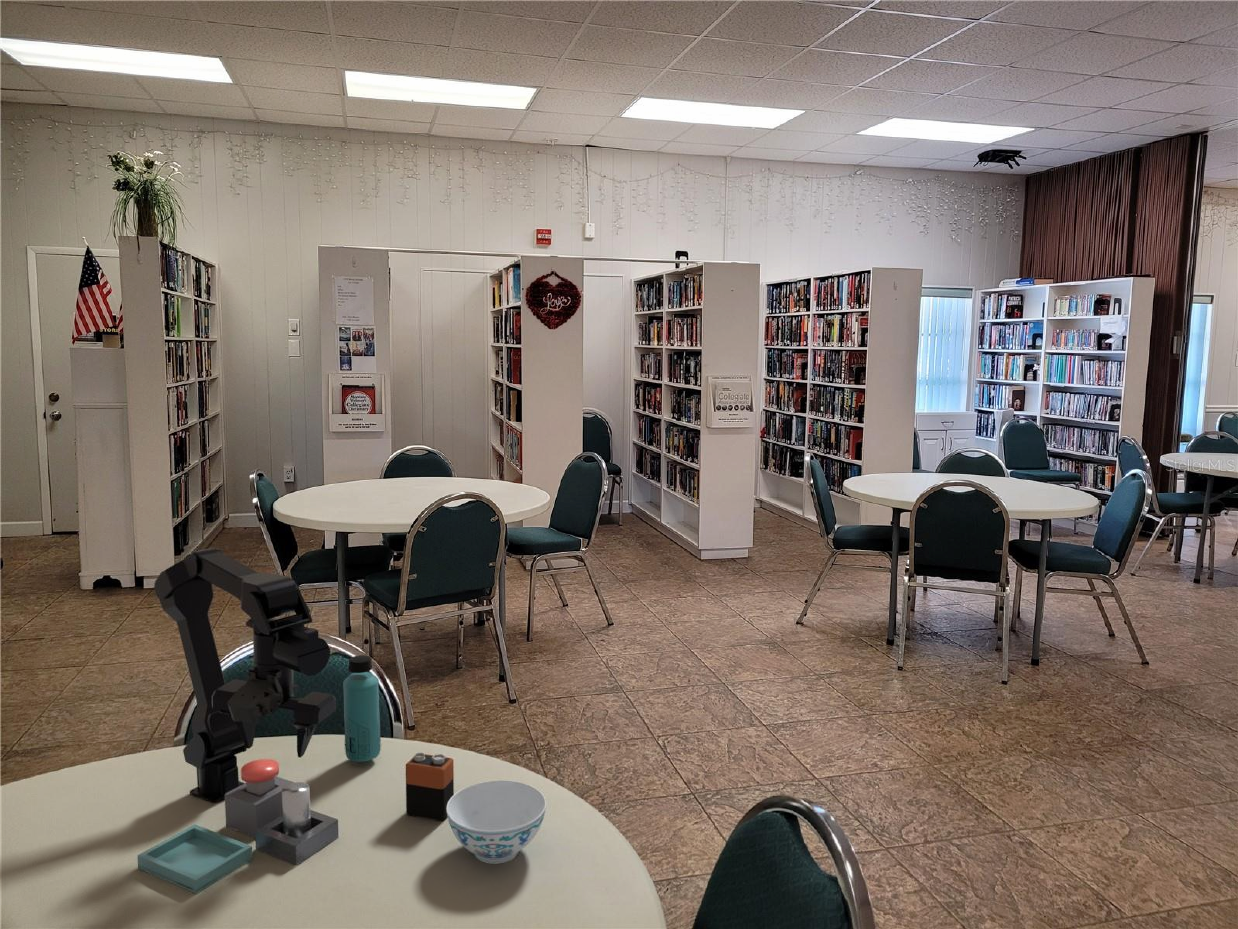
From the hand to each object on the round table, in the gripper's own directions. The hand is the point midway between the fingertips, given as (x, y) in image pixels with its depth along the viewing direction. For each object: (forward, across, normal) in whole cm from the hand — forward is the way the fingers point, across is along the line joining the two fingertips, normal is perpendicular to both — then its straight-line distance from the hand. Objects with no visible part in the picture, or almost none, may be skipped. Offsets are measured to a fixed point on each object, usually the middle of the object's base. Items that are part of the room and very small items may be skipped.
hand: (275, 752), depth 142 cm
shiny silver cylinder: (+12, +7, -4) cm, 14 cm away
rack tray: (+12, -4, -13) cm, 18 cm away
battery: (+12, +22, +9) cm, 27 cm away
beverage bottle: (+12, +3, +22) cm, 26 cm away
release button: (+7, -3, 0) cm, 7 cm away
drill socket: (+12, +7, -4) cm, 14 cm away
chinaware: (+11, +37, +2) cm, 39 cm away
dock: (+12, -2, 0) cm, 12 cm away
